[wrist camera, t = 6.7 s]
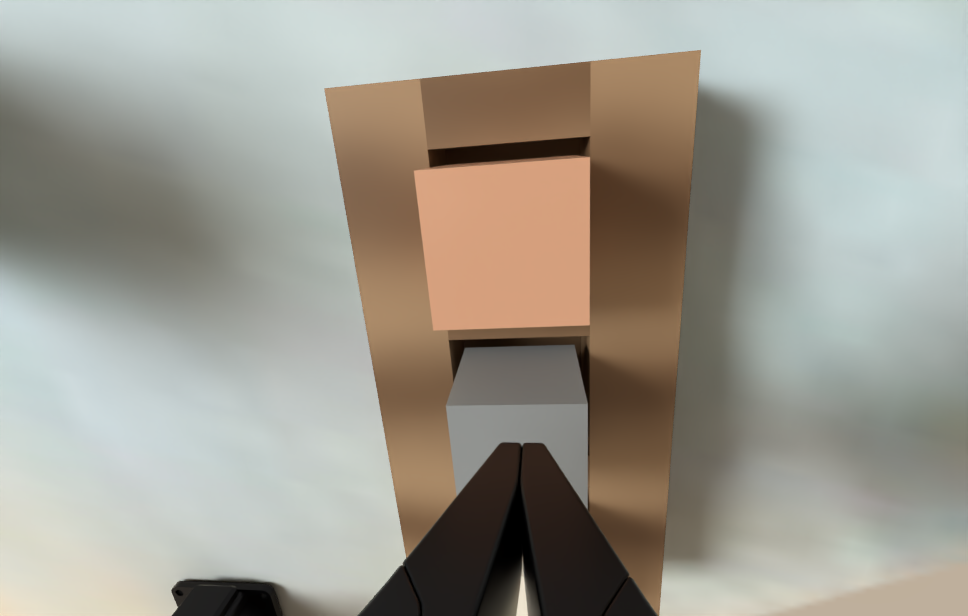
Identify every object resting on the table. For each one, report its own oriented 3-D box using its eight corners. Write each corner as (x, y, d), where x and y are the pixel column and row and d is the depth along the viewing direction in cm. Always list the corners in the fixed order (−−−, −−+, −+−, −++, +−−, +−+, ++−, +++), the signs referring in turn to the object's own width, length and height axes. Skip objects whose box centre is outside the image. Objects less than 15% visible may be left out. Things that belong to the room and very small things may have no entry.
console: (638, 541, 23) (658, 617, 20) (432, 537, 25) (414, 607, 21) (661, 73, 16) (700, 50, 12) (368, 101, 17) (324, 88, 14)
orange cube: (574, 281, 15) (589, 325, 11) (457, 286, 15) (433, 330, 12) (573, 154, 14) (589, 157, 10) (445, 165, 14) (413, 170, 10)
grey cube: (575, 438, 17) (587, 517, 14) (474, 438, 18) (459, 515, 14) (574, 344, 16) (587, 404, 12) (464, 347, 17) (445, 405, 13)
